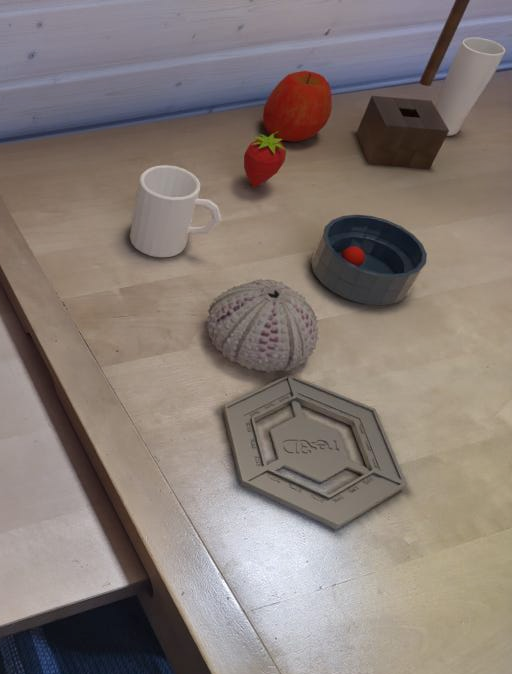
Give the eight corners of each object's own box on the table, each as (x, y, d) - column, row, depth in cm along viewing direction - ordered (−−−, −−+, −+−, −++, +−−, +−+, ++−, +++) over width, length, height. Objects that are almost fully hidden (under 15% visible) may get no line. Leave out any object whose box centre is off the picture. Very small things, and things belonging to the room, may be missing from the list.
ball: (347, 275, 99) (368, 265, 98) (349, 265, 96) (370, 255, 96) (336, 259, 100) (356, 249, 100) (337, 248, 98) (358, 238, 97)
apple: (310, 156, 119) (332, 96, 112) (249, 136, 123) (266, 77, 115) (328, 129, 126) (350, 70, 118) (269, 111, 129) (287, 53, 122)
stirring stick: (429, 81, 112) (501, -78, 96) (432, 86, 111) (506, -74, 95) (417, 80, 112) (487, -78, 96) (421, 85, 111) (492, -75, 95)
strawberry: (281, 182, 114) (301, 125, 106) (263, 204, 109) (282, 146, 102) (247, 170, 116) (264, 112, 108) (228, 190, 111) (244, 132, 104)
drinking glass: (414, 127, 128) (454, 43, 117) (432, 116, 131) (473, 33, 120) (450, 143, 124) (495, 58, 113) (468, 131, 127) (513, 47, 116)
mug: (198, 275, 97) (215, 216, 90) (120, 244, 101) (130, 185, 94) (220, 245, 102) (237, 186, 95) (144, 216, 106) (155, 158, 99)
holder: (413, 138, 125) (431, 100, 120) (429, 169, 118) (449, 130, 113) (356, 133, 125) (371, 95, 120) (368, 163, 119) (385, 125, 113)
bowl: (395, 250, 103) (411, 219, 99) (420, 313, 94) (439, 281, 90) (303, 242, 103) (315, 210, 99) (319, 303, 94) (333, 271, 90)
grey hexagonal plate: (358, 381, 85) (361, 376, 84) (421, 531, 71) (424, 526, 71) (214, 377, 84) (216, 372, 84) (250, 527, 71) (252, 523, 70)
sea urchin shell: (289, 398, 83) (312, 351, 77) (183, 350, 87) (197, 302, 82) (324, 332, 91) (347, 285, 85) (225, 291, 95) (240, 243, 89)
